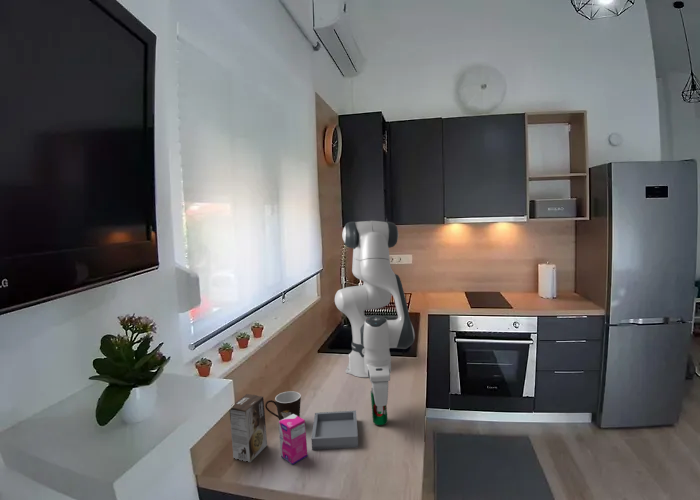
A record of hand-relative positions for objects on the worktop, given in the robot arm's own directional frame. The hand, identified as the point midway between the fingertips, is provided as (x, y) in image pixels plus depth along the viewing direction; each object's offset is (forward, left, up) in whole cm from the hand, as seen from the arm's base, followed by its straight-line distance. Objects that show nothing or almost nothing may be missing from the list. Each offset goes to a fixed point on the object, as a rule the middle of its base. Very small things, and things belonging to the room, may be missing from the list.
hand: (379, 405), depth 134 cm
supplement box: (+16, -27, -6) cm, 32 cm away
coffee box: (+13, -41, -6) cm, 43 cm away
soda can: (0, 0, -6) cm, 6 cm away
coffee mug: (-3, -32, -6) cm, 33 cm away
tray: (+5, -15, -6) cm, 17 cm away
